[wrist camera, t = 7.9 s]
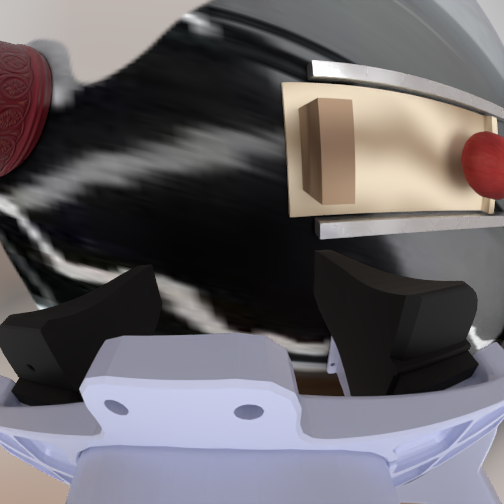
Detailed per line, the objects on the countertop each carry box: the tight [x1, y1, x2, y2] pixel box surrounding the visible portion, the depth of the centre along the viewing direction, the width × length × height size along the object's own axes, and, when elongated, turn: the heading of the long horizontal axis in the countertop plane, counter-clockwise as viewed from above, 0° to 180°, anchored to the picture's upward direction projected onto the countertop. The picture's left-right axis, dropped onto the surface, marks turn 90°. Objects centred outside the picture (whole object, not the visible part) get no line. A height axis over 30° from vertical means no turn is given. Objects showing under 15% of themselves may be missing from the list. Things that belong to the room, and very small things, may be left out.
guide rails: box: [307, 60, 504, 239], centre depth 18 cm, size 13×30×2 cm, turn 94°
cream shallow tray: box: [281, 82, 498, 217], centre depth 16 cm, size 10×22×6 cm, turn 94°
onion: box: [461, 131, 504, 200], centre depth 15 cm, size 6×6×8 cm
